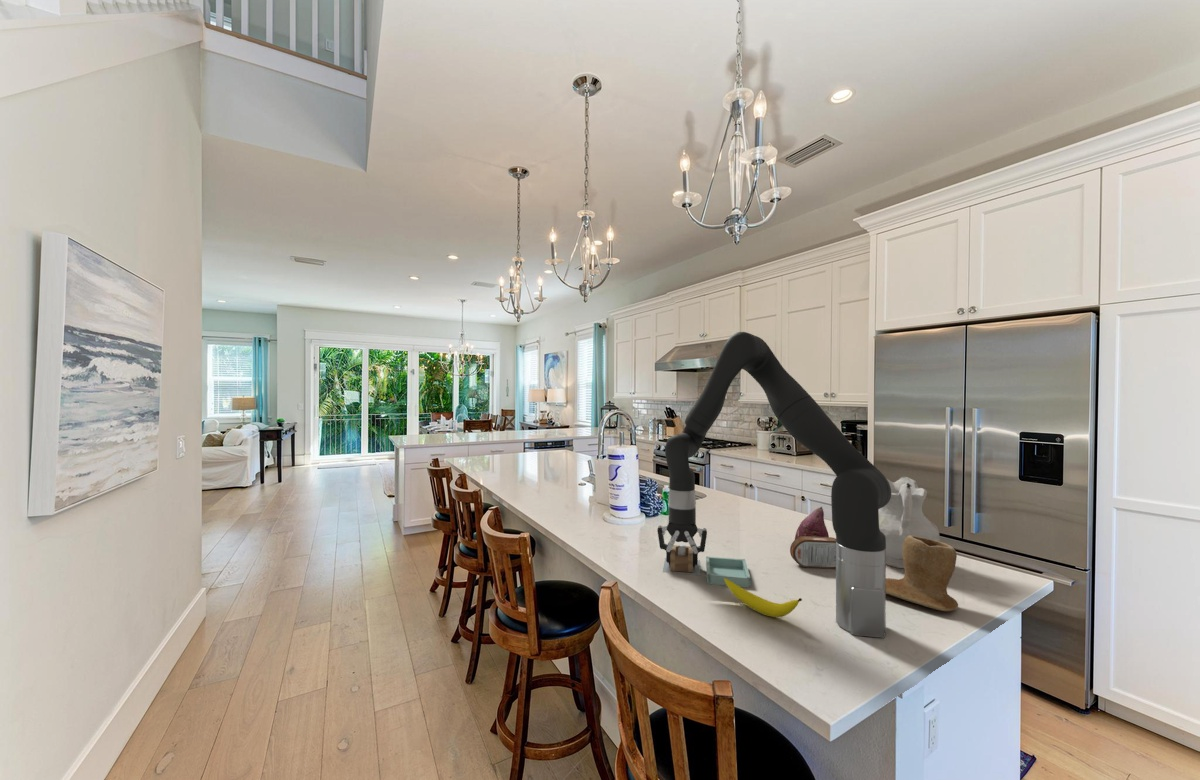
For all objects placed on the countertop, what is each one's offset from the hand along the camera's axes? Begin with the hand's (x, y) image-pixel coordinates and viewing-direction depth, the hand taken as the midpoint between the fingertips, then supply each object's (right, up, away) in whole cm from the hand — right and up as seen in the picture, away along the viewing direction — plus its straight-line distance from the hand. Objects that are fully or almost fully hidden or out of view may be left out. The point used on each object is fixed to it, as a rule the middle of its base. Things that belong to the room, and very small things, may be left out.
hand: (682, 564), depth 131 cm
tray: (+11, -1, -6) cm, 13 cm away
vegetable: (+44, -1, +18) cm, 48 cm away
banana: (+13, -1, -26) cm, 29 cm away
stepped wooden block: (0, 0, 0) cm, 0 cm away
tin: (+39, -1, +1) cm, 39 cm away
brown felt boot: (+53, -1, -20) cm, 57 cm away
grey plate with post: (0, -1, 0) cm, 1 cm away
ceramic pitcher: (+64, -1, +4) cm, 64 cm away
